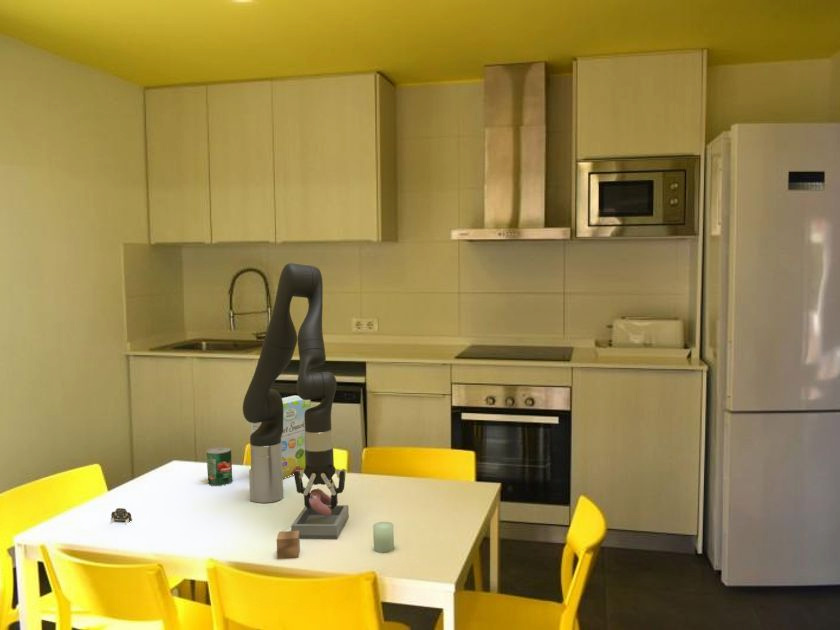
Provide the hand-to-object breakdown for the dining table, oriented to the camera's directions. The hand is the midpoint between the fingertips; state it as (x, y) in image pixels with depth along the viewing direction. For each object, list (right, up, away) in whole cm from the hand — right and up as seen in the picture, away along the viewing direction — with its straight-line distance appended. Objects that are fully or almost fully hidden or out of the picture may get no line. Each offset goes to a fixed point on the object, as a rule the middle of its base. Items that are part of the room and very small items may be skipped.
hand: (321, 507), depth 194 cm
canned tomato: (-39, -4, +44) cm, 59 cm away
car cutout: (-53, -7, +8) cm, 54 cm away
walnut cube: (-6, -7, -17) cm, 19 cm away
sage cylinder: (+18, -6, -15) cm, 24 cm away
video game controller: (0, -1, 0) cm, 1 cm away
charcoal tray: (0, -5, 0) cm, 6 cm away
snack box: (-20, -3, +50) cm, 54 cm away
